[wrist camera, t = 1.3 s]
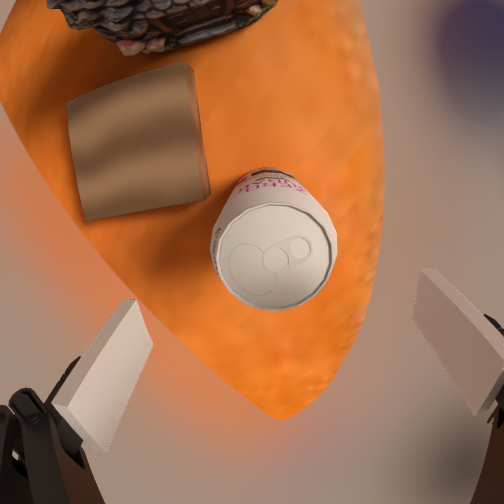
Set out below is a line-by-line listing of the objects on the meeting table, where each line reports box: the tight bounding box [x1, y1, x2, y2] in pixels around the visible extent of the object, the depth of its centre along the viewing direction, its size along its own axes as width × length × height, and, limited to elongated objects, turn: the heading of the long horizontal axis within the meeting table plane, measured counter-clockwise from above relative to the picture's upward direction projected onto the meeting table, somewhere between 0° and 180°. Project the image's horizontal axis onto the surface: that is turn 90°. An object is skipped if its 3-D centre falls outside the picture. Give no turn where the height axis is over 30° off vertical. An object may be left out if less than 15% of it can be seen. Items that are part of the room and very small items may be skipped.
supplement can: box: [210, 167, 337, 311], centre depth 24 cm, size 8×8×15 cm
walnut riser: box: [66, 61, 211, 222], centre depth 26 cm, size 14×14×4 cm
